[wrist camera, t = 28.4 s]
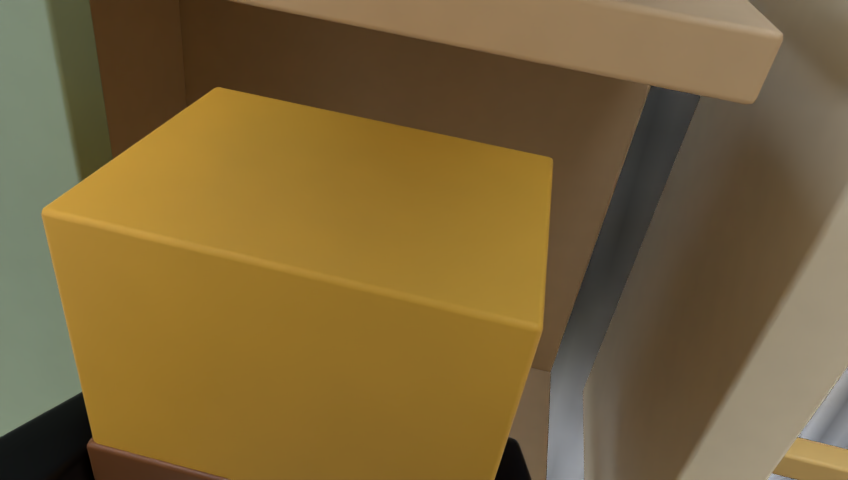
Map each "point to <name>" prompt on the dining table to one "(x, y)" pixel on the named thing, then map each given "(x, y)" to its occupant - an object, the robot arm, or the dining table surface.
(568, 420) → the dining table surface
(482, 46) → the drawer
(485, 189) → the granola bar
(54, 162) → the cabinet
